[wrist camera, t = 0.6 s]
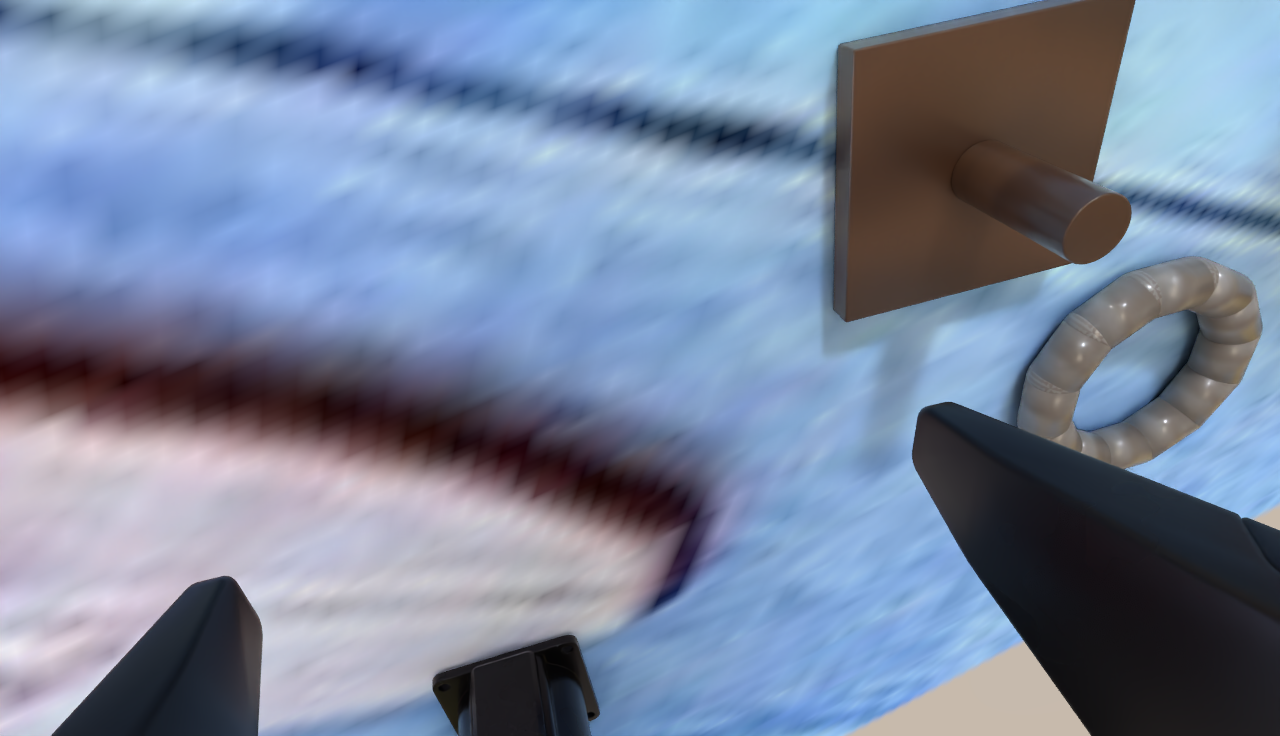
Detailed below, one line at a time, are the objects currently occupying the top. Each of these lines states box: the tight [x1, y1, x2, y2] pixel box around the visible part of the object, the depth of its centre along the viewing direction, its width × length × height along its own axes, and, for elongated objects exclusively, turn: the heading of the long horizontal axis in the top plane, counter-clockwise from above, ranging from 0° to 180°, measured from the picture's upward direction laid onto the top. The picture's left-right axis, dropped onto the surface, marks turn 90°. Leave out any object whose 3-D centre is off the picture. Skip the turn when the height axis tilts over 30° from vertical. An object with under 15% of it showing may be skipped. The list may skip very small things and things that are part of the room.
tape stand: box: [833, 0, 1135, 322], centre depth 21 cm, size 9×9×6 cm
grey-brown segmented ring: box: [1017, 256, 1263, 469], centre depth 30 cm, size 10×10×2 cm
